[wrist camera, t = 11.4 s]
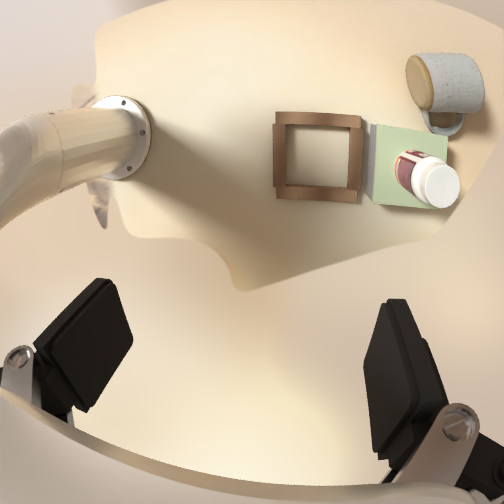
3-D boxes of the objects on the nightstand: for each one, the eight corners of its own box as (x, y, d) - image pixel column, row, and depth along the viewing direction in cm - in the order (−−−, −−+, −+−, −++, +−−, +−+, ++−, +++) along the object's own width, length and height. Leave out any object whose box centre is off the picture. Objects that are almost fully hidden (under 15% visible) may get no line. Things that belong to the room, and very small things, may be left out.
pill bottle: (408, 197, 29) (437, 222, 22) (384, 166, 28) (411, 183, 21) (435, 172, 27) (471, 191, 20) (413, 140, 26) (447, 149, 19)
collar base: (274, 195, 36) (273, 198, 35) (273, 111, 31) (272, 111, 30) (357, 200, 34) (359, 202, 33) (361, 116, 30) (363, 116, 28)
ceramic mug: (396, 58, 25) (419, 47, 18) (448, 57, 23) (477, 50, 16) (415, 137, 29) (442, 145, 23) (464, 133, 27) (496, 141, 20)
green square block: (366, 194, 34) (373, 203, 30) (370, 123, 30) (378, 124, 26) (427, 200, 32) (439, 209, 29) (434, 134, 28) (448, 136, 25)
